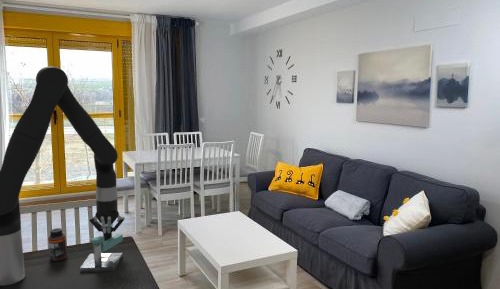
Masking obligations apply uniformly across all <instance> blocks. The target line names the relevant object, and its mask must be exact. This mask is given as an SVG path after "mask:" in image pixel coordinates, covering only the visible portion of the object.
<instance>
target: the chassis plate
mask: <svg viewBox="0 0 500 289" xmlns="http://www.w3.org/2000/svg"><path fill="white" fill-rule="evenodd" d="M122 259H123V252H105V253H104V252H101V243H100V244H93V253H89V255H88V256H87V257H86V259H85V260H84V261H83V263H82V264H81V266H80V267H79V273H90V272H115V271H116V269H117V268H118V265H119V264H120V263H121V260H122Z"/></svg>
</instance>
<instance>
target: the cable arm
mask: <svg viewBox="0 0 500 289" xmlns="http://www.w3.org/2000/svg"><path fill="white" fill-rule="evenodd" d="M123 238H124V236H123V233H122V234H121V233H117V234H115V235H114V236H113V235H112V238H110V239H108V240H106V241H104V237H103V235H100V236H96V237H92V238H91V239H90V243H91V245H94V244H100V243H101V253H104V252H105V253H106V251H109V249H111V248H113V247H114V246H116V245H118V244H120V243H121V242H123V241H124V240H123Z"/></svg>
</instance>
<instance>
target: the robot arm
mask: <svg viewBox="0 0 500 289" xmlns="http://www.w3.org/2000/svg"><path fill="white" fill-rule="evenodd" d="M35 82H36V83H35V84H36V85H35V89H34V92H33V93H32V97H31V100H30V102H29V104H28V106H27V107H26V109H25V110H24V112H23V113H22V115H21V116H20V118H19V119H18V122H16V125H15V127H14V129H13V131H12V133H11V136H10V138H9V140H8V143H7V146H6V149H5V153H4V157H3V161H2V165H1V167H0V286H4V287H5V286H10V285H14V284H16V283H19V282H21V281H22V280H24V278H25V277H26V274H25V273H26V272H25V261H24V259H25V258H24V249H23V237H22V227H21V226H22V225H21V224H22V223H21V209H20V193H21V190H22V186H23V184H24V182H25V178H26V177H27V175H28V173H29V171H30V169H31V167H32V165H33V164H34V162H35V159H36V158H37V156H38V155H39V154H38V153H39V152H40V150H41V148H42V145H43V143H44V140H45V138H46V135H47V132H48V130H49V126H50V124H51V120H52V117H53V114H54V112H55V109H56V107H58V108H59V109H60V110H61V111H62V113H63V114H64V116H65V118H66V119H67V121H68V122H69V123H70V125H71V126H72V127H73V129H74V130H75V132H76V133H77V135H78V136H79V138H80V139H81V140H82V141H83V143H84V144H86V145H87V146H88V147H89V148H90V150H91V151H92V153H93V161H94V168H95V172H96V179H95V180H96V190H95V200H96V201H95V203H96V204H95V205H96V212H95V215H93V216H92V217H90V219H89V222H90V223H91V224H92V226H93V227H94V228H95V229H96V230H97V232H102V236H103V237H104V241H106V240H108V239H110V238H112V237H113V232H116V231H117V230H118V229H119V227H120V226H121V225H122V223H123V222H124V221H125V217H124V216H121V215H120V212H119V211H118V210H119V209H118V206H119V205H118V196H119V195H118V188H117V173H116V171H115V168H114V164H115V163H117V160H118V151H117V150H116V148H115V147H114V145H113V144H112V143H111V142H110V140H108V138H107V137H106V136H105V135H104V134H103V132H102V130H101V128H100V127H99V126H98V125H97V123H96V122H95V120H94V119H93V118H92V117H91V115H90V114H89V113H88V111H87V110H86V109H85V108H84V107H83V106H82V105H81V104H80V102H79V101H78V100H77V99H76V98H75V95H74V94H73V93H72V91H71V89H70V87H69V78H68V75H67V74H66V72H65V71H64V70H63V69H61V68H60V67H57V66H45V67H43V68H41V69H39V71H38V72H37V73H36V77H35ZM115 222H117V223H116V224H115V226H113V225H114V223H115Z"/></svg>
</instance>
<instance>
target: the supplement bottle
mask: <svg viewBox="0 0 500 289" xmlns="http://www.w3.org/2000/svg"><path fill="white" fill-rule="evenodd" d="M66 239H67V238H66V234H65V233H63V229H62V228H60V227H56V228H53V229H51V230H50V235H49V236H48V239H47V240H48V242H47V243H48V250H49V253H48V254H49V259H50V260H51V261H53V262H57V261H62V260H64V259H66V258H67V256H68V253H67V240H66Z"/></svg>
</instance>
